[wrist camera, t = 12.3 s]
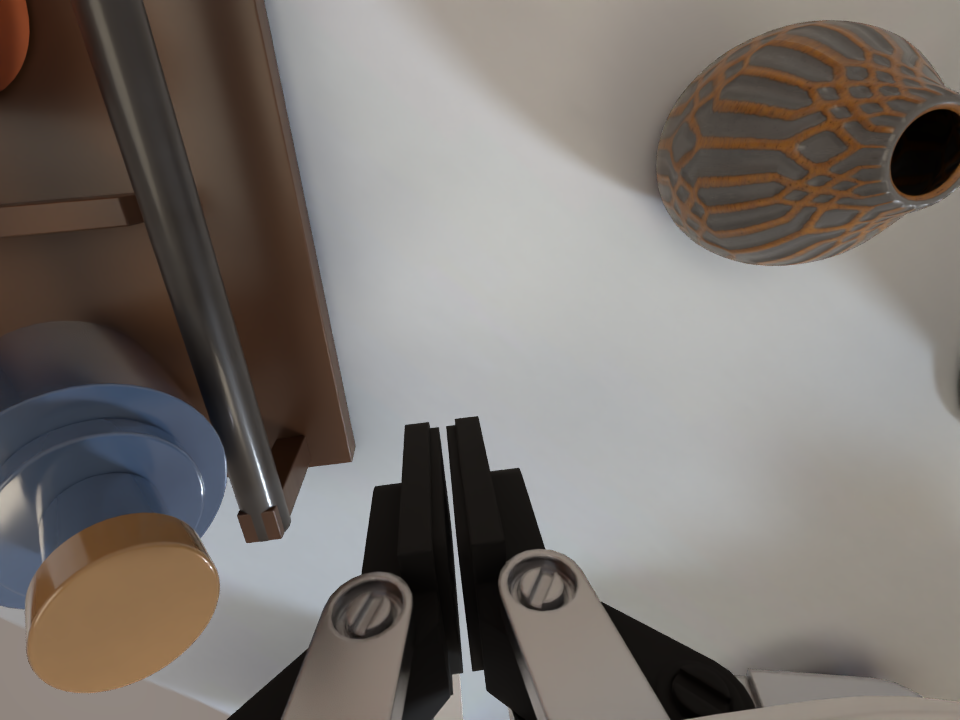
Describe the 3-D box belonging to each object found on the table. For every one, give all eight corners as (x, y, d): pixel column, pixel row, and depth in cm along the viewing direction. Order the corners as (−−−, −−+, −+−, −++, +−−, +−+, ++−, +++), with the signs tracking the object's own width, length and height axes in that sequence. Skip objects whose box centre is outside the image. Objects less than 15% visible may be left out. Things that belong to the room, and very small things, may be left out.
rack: (216, -232, 14) (79, -490, 8) (356, 447, 22) (334, 541, 17) (-347, -217, 13) (-931, -498, 7) (27, 487, 21) (-110, 602, 16)
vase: (673, 277, 21) (833, 356, 13) (598, 124, 18) (738, 100, 10) (825, 180, 20) (1100, 198, 12) (769, 5, 17) (1072, -126, 9)
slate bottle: (136, 302, 18) (259, 411, 9) (185, 437, 20) (321, 628, 11) (-88, 349, 14) (-237, 596, 6) (0, 506, 16) (-8, 854, 8)
